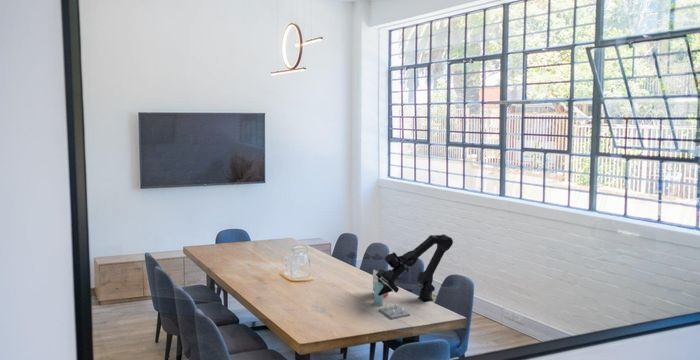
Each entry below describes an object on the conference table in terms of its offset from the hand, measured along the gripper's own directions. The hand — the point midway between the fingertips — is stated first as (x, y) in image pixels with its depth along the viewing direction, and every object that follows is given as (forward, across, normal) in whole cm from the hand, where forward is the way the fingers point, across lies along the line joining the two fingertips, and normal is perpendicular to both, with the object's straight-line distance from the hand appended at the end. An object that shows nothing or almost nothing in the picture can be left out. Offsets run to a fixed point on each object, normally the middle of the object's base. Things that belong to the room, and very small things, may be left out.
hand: (376, 293), depth 341 cm
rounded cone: (+4, 0, +6) cm, 7 cm away
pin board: (+1, +13, +8) cm, 15 cm away
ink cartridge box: (-2, -12, +11) cm, 16 cm away
